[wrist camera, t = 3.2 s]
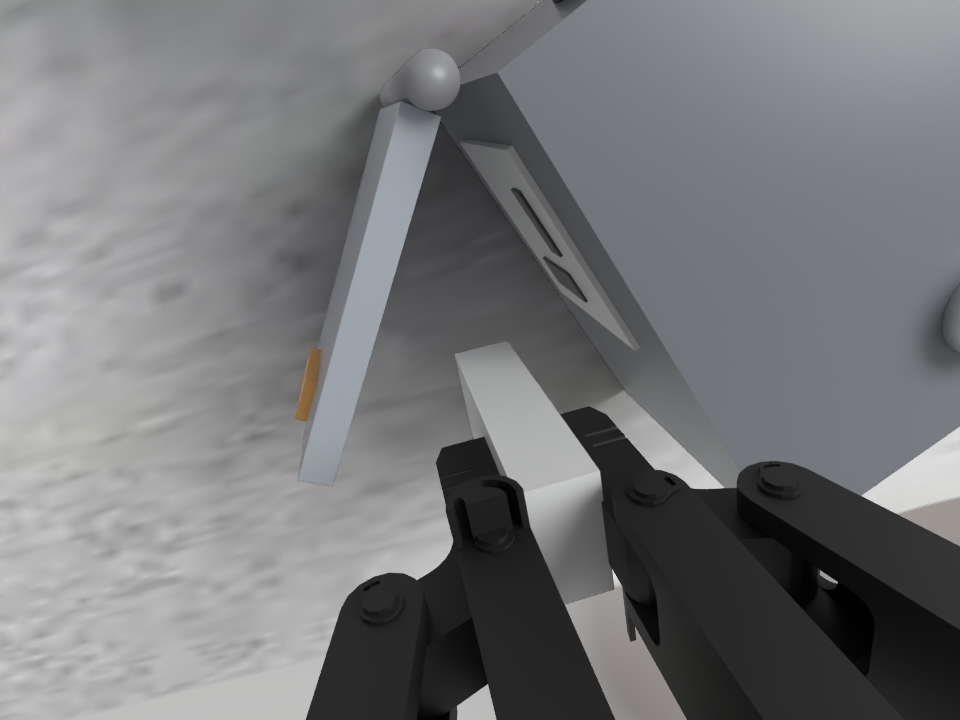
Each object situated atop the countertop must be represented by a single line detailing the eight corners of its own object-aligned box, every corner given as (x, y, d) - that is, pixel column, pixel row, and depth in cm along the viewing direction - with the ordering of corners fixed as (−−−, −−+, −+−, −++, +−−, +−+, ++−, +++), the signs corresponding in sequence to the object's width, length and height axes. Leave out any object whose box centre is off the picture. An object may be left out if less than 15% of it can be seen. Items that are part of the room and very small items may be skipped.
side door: (378, 72, 18) (402, 33, 10) (415, 87, 18) (467, 60, 10) (306, 352, 20) (282, 491, 13) (340, 359, 21) (336, 499, 13)
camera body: (400, 75, 18) (462, 22, 8) (663, -138, 17) (1064, -468, 8) (619, 393, 24) (800, 574, 15) (819, 246, 24) (1147, 332, 14)
